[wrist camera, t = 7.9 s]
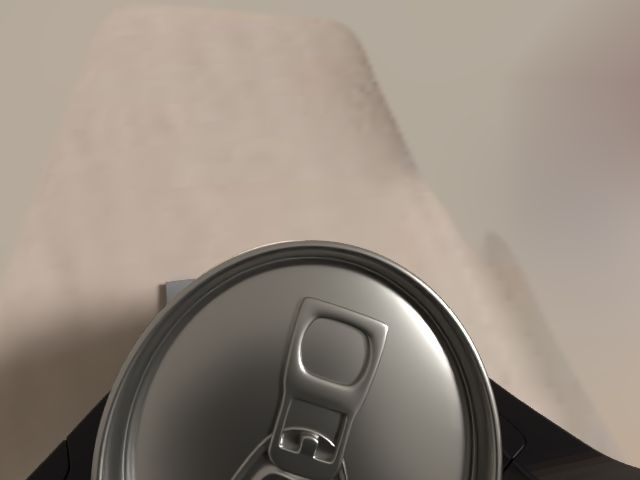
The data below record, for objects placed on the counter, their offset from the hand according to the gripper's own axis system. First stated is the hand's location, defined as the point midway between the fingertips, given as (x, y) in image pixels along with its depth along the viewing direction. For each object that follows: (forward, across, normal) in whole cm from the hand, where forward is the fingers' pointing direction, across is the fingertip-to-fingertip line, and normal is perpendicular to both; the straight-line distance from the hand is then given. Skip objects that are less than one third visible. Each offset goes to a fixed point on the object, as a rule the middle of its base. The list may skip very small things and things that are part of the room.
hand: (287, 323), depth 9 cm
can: (+4, 0, +6) cm, 7 cm away
